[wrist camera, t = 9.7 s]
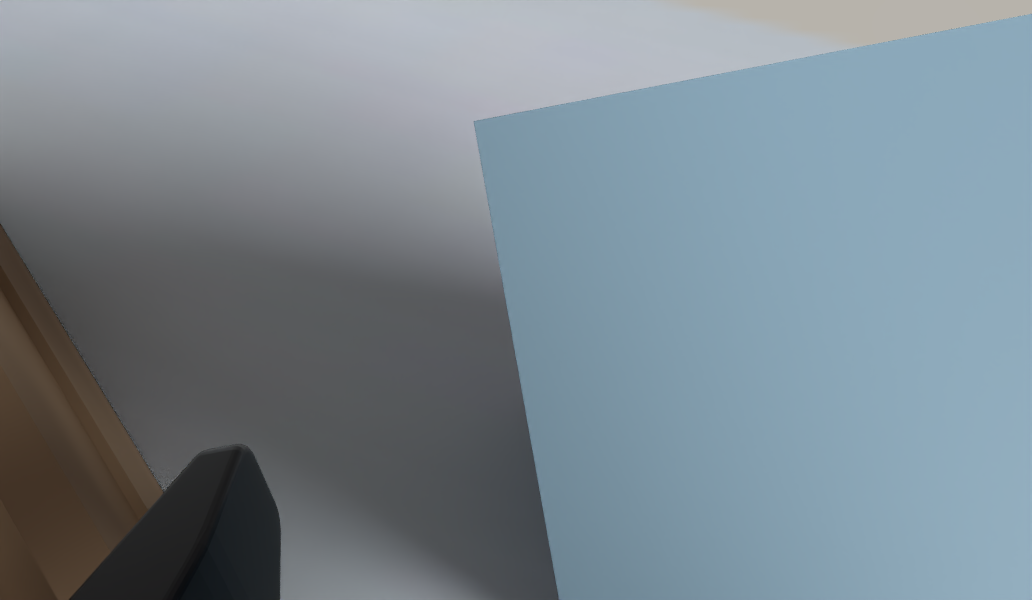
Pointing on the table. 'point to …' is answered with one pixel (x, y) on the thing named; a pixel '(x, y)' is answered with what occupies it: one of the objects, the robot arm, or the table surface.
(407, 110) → the table surface
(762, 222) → the light blue block
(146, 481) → the tray
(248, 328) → the table surface
